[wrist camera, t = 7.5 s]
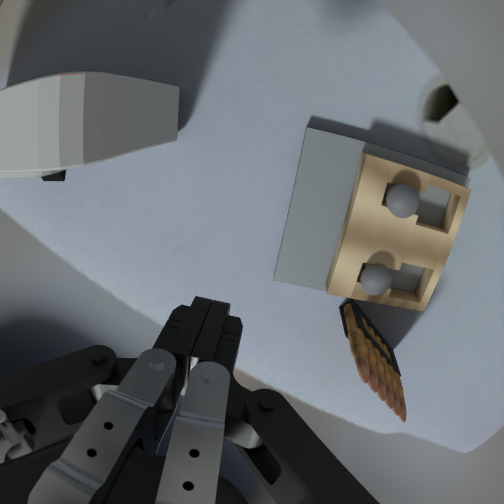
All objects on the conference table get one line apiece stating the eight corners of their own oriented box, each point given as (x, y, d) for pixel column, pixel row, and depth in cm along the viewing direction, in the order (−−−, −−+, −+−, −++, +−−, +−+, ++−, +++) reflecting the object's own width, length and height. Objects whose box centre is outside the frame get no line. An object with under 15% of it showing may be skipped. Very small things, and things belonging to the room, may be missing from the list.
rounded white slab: (4, 163, 33) (-94, 202, 17) (3, 111, 30) (-100, 134, 14) (184, 161, 31) (77, 215, 15) (187, 87, 28) (75, 67, 12)
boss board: (306, 126, 28) (308, 128, 24) (465, 176, 27) (488, 186, 23) (273, 275, 35) (270, 298, 30) (418, 303, 34) (431, 327, 30)
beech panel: (361, 151, 27) (366, 154, 25) (461, 185, 27) (471, 189, 25) (325, 283, 33) (326, 293, 31) (418, 302, 32) (423, 311, 31)
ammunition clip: (393, 350, 37) (415, 420, 26) (381, 357, 38) (399, 428, 27) (351, 298, 35) (370, 372, 24) (338, 307, 36) (351, 382, 25)
